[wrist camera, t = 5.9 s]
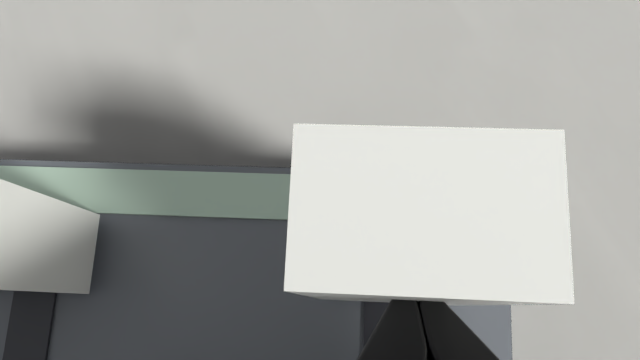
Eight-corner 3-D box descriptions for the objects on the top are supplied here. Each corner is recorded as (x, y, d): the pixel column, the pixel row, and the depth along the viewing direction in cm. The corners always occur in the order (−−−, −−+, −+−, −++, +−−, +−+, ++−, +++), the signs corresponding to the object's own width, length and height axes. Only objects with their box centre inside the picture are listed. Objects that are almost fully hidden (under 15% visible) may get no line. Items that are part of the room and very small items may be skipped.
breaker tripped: (455, 305, 13) (574, 304, 6) (321, 299, 13) (283, 291, 6) (454, 222, 13) (564, 129, 6) (325, 217, 14) (292, 123, 7)
